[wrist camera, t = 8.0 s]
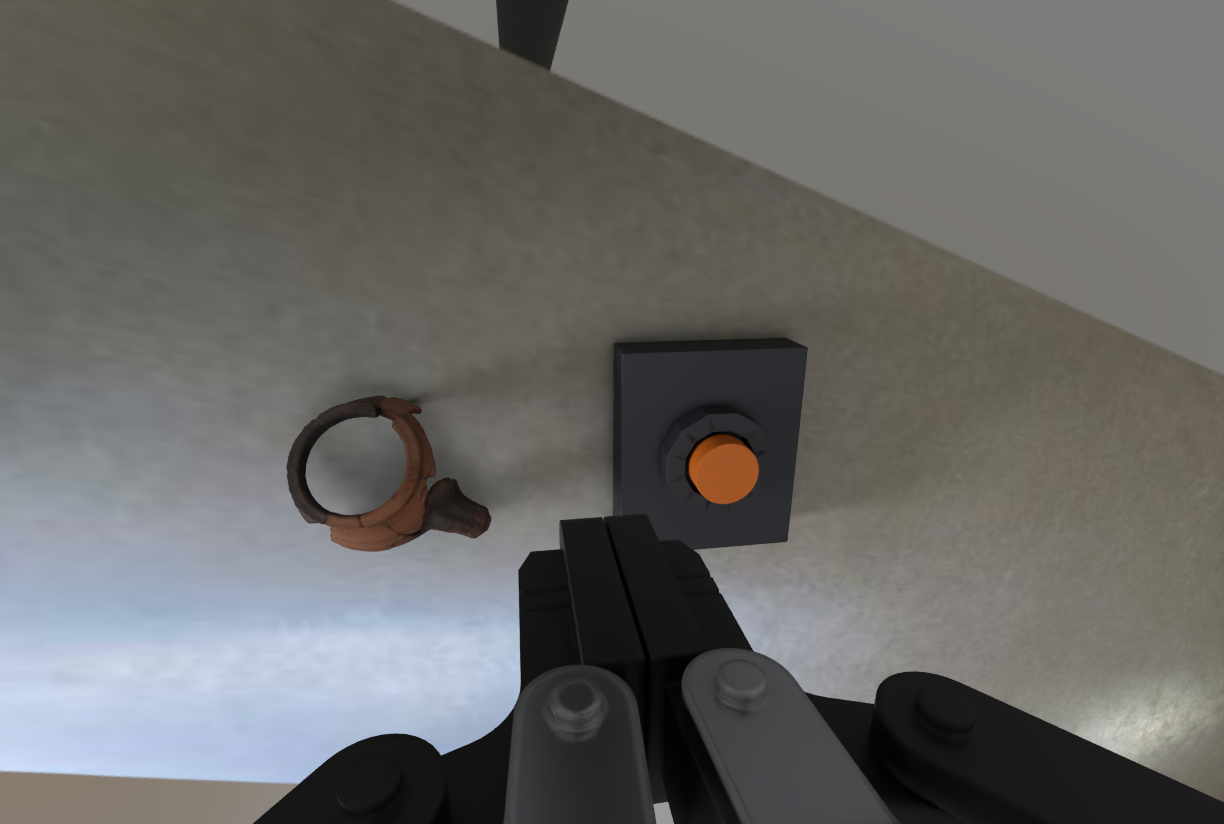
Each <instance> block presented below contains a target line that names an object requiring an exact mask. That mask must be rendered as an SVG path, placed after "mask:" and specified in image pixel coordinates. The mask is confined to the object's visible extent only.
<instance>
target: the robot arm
mask: <svg viewBox="0 0 1224 824" xmlns="http://www.w3.org/2000/svg"><path fill="white" fill-rule="evenodd" d="M559 529H560V549H559V550H546V551H534V552H530V554H529V555H528V557H527V558H526V560H525V561H524V563H523V564H522V566H521V567H520V569H519V570H518V571H519V619H520V668H521V687H520V693H519V697H518V700H517V702H516V704H515V706H514V708H513V710H512V711H511V712H510V714H509V715H508V717H507V718H506V719H505V720H504V721H503V722H502V723H501V724H500V725H499V726H498V727H496V728H495V729H494V730H493V731H491V732H490V733H488V734H487V735H485V736H484V737H482V738H481V739H478V740H476V741H474V742H472V743H470V744H468V745H465V746H463V747H461V748H458V749H456V750H453V751H451V752H449V753H446V754H444V755H440V753H439V752H438V751H437V750H436V749H435V748H434V746H433V745H431V744H430V743H428V742H427V741H426V740H423V739H421V738H419V737H416V736H412V735H408V734H383V735H379V736H374V737H370V738H367V739H364V740H361V741H358V742H356V743H354V744H352V745H350V746H348V747H346V748H344V749H343V750H341V751H339V752H338V753H336V754H335V755H333V756H332V757H331V758H329V759H328V760H327V761H325V762H324V763H323V764H322V765H321V766H320V767H318V768H317V769H316V770H315V771H314V772H313V773H311V774H310V775H309V776H308V777H307V778H306V779H304V780H303V781H302V782H301V783H300V784H299V785H297V786H296V787H295V788H294V789H293V790H292V791H290V792H289V793H288V794H287V795H286V796H285V797H283V798H282V799H281V800H280V801H279V802H278V803H276V804H275V805H274V806H273V807H272V808H271V809H269V810H268V811H267V812H266V813H265V814H264V815H262V816H261V817H260V818H259V819H258V820H257V821H255V822H254V823H253V824H656V818H655V813H654V807H653V804H656V803H663V802H668V803H669V806H670V810H671V814H672V817H673V821H674V824H1224V802H1222V801H1220V800H1217V799H1215V798H1213V797H1211V796H1209V795H1206V794H1204V793H1202V792H1200V791H1198V790H1195V789H1193V788H1191V787H1189V786H1187V785H1184V784H1182V783H1180V782H1178V781H1176V780H1173V779H1171V778H1169V777H1167V776H1165V775H1162V774H1160V773H1158V772H1156V771H1154V770H1151V769H1149V768H1147V767H1145V766H1143V765H1140V764H1138V763H1136V762H1134V761H1132V760H1129V759H1127V758H1125V757H1123V756H1121V755H1118V754H1116V753H1114V752H1112V751H1110V750H1107V749H1105V748H1103V747H1101V746H1099V745H1096V744H1094V743H1092V742H1090V741H1088V740H1085V739H1083V738H1081V737H1079V736H1077V735H1074V734H1072V733H1070V732H1068V731H1066V730H1063V729H1061V728H1059V727H1057V726H1055V725H1052V724H1050V723H1048V722H1046V721H1044V720H1041V719H1039V718H1037V717H1035V716H1033V715H1030V714H1028V713H1026V712H1024V711H1022V710H1019V709H1017V708H1015V707H1013V706H1011V705H1008V704H1006V703H1004V702H1002V701H1000V700H997V699H995V698H993V697H991V696H989V695H986V694H984V693H982V692H980V691H977V690H975V689H973V688H971V687H969V686H966V685H964V684H962V683H960V682H957V681H955V680H952V679H950V678H947V677H944V676H940V675H937V674H932V673H926V672H902V673H897V674H894V675H892V676H890V677H888V678H886V679H885V680H884V681H883V682H882V683H881V684H880V685H879V687H878V689H877V692H876V698H875V704H870V703H863V702H856V701H849V700H842V699H834V698H827V697H822V696H817V695H813V694H810V693H806V692H804V691H803V690H802V688H801V687H800V685H799V684H798V683H797V681H796V680H795V679H794V677H793V676H792V675H791V674H790V673H789V671H787V670H786V669H785V668H784V667H783V666H782V665H780V664H779V663H777V662H776V661H774V660H773V659H771V658H769V657H767V656H765V655H762V654H760V653H757V652H754V651H753V650H752V648H751V646H750V644H749V642H748V641H747V639H746V637H745V635H744V633H743V632H742V630H741V628H740V626H739V625H738V623H737V621H736V619H735V617H734V616H733V614H732V612H731V610H730V608H729V607H728V605H727V603H726V601H725V600H724V598H723V596H722V594H721V593H720V594H719V589H718V587H717V585H716V583H715V582H714V580H713V578H712V577H710V573H709V571H708V569H707V567H706V566H705V564H704V562H703V560H702V558H701V557H700V555H699V554H698V553H697V552H695V551H694V550H692V549H691V548H690V547H688V546H687V545H686V544H684V543H683V542H681V541H680V540H667V541H659V539H658V537H657V535H656V533H655V531H654V529H653V526H652V524H651V522H650V520H649V518H648V516H647V514H635V515H621V516H608V517H604V520H603V518H602V517H596V518H583V519H570V520H560V528H559Z"/></svg>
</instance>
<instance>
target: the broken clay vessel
mask: <svg viewBox="0 0 1224 824" xmlns="http://www.w3.org/2000/svg"><path fill="white" fill-rule="evenodd" d="M421 411H422V409H421V407H419V406H417V405H415V404H413V403H410V402H408V401H405V400H402V399H398V398H386V397H384V396H373V397H367V398H363V399H358V400H354V401H351V402H348V403H345V404H341V405H338V406H335V407H332V408H330V409H328V410H326V411H325V412H323V413H321V414H320V415H319V416H318V417H317V418H316V419H314V420H312V421H311V422H310V423H309V424H308V425H306V426H305V427H304V429H303V430H302V432H301V433H300V434H299V435H298V437H297V438H296V439H295V441H294V443H293V445H292V448H291V450H290V453H289V457H288V462H287V471H288V473H287V479H288V484H289V491H290V493H291V495H292V498H293V500H294V503H295V506H296V507H297V508H298V509H299V512H300V514H301V515H302V517H303V518H304V519H305V521H306V522H307V523H312V524H313V523H320V524H326V525H327V526H330V527H331V534H330V536H331V541H333V542H335V543H337V544H340V545H341V546H343V547H346V548H349V549H353V550H360V551H369V552H371V551H383V550H389V549H391V548H394V547H397V546H400V545H403V544H405V543H407V542H409V541H411V540H413V539H415V538H417V537H419V536H420V535H422V534H424V533H425V532H427V531H428V530H431V529H433V530H439V531H444V532H449V533H458V534H461V535H465V536H468V537H470V538H477V537H478V536H480V535H481V534H483V533H484V532H485V531H487V530H488V528H489V525H490V523H491V516H490V514H489V511H488V509H487V508H486V507H485V506H483V505H480V504H478V503H476V502H474V501H472V500H470V499H469V498H467V497H466V496H465V495H464V494H463V493H462V492H461V490H460V488H459V486H458V483H457V481H456V480H455V479H452V480H451V479H450V478H444V479H442V480H439V481H437V482H436V483H435V484H434V485H433V486H432V487H431V488H430V490H429V492H428V491H427V486H426V479H427V478H429V477H433V476H435V475H436V468H435V462H434V458H433V453H432V448H431V446H430V444H429V441H428V439H427V437H426V434H425V432H424V429H423V428H422V426H421V425H420V423H419V422H418V421H417V419H416V418H415V417H414V416H413V415H412V414H413V413H416V414H421ZM380 415H381V416H383V417H386V418H388V419H390V420H392V421H394V422H393V423H392V427H393V429H394V430H395V431H396V432H397V433H398V435H399V436H400V438H401V439H402V441H403V443H404V446H405V450H406V456H407V463H406V471H405V476H404V480H403V482H402V483H401V485H400V487H399V489H398V490H397V491H396V493H395V494H394V495H393V496H392V497H391V498H390V499H389V500H388V501H387V502H386V503H384V504H383V505H382V506H380V507H379V508H377V509H375V510H373V511H370V512H367V513H364V514H359V515H342V514H338V513H335V512H330V511H328V510H326V509H325V508H323V507H322V506H321V505H320V504H319V503H318V502H317V501H316V500H315V499H314V497H313V496H312V494H311V493H310V490H309V488H308V485H307V481H306V477H305V474H306V463H307V459H308V456H309V454H310V451H311V449H312V447H313V445H314V444H315V442H316V441H317V440H318V438H319V437H320V436H321V435H322V434H323V433H324V432H325V431H327V430H328V429H329V428H330V427H332V426H334V425H336V424H338V423H340V422H342V421H344V420H347V419H351V418H358V417H372V418H376V417H378V416H380Z"/></svg>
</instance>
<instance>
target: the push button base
mask: <svg viewBox="0 0 1224 824" xmlns="http://www.w3.org/2000/svg"><path fill="white" fill-rule="evenodd" d="M807 350H808V348H807V347H805V346H803V345H801V344H798V343H796V342H794V341H792V340H789V339H787V338H769V339H736V340H702V341H669V342H635V343H614V422H613V516H621V515H635V514H647V516H648V518H649V520H650V522H651V524H652V526H653V529H654V531H655V533H656V535H657V537H658V539H659V541H667V540H680V541H681V542H683V543H684V544H686V545H687V546H688V547H690V548H691V549H692V550H696V549H707V548H719V547H731V546H743V545H755V544H766V543H778V542H787V540H788V530H789V521H790V511H791V502H792V492H793V483H794V473H795V464H796V454H797V445H798V435H799V426H800V416H801V407H802V397H803V388H804V378H805V369H806V359H807ZM717 434H727V435H731V436H734V437H736V438H738V439H739V440H740V441H741V442H742V443H743V444H745V445H746V446H747V447H748V448H749V449H750V450H751V451H752V452H753V454H754V455H755V457H756V459H757V461H758V466H759V474H758V479H757V481H756V484H755V486H754V487H753V489H752V490H751V491H750V492H749V493H748V494H747V495H746V496H745V497H743V498H742V499H740V500H738V501H736V502H733V503H729V504H718V503H714V502H711V501H709V500H707V499H706V498H705V497H704V496H703V495H702V494H701V493H700V492H699V490H698V489H697V487H696V486H695V484H694V483H693V481H692V480H691V478H690V475H689V471H688V462H689V458H690V455H691V453H692V451H693V450H694V448H695V447H696V446H697V445H698V444H699V443H700V442H701V441H703V440H704V439H706V438H708V437H710V436H713V435H717Z"/></svg>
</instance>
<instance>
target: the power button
mask: <svg viewBox="0 0 1224 824" xmlns="http://www.w3.org/2000/svg"><path fill="white" fill-rule="evenodd" d="M688 471H689V475H690V478H691V480H692V481H693V483H694V484H695V486H696V487H697V489H698V490H699V492H700V493H701V494H702V495H703V496H704V497H705V498H706V499H707V500H709V501H711V502H714V503H718V504H729V503H733V502H736V501H738V500H740V499H742V498H743V497H745V496H746V495H747V494H748V493H749V492H750V491H751V490H752V489H753V487H754V486H755V484H756V481H757V479H758V474H759V466H758V461H757V459H756V457H755V455H754V454H753V452H752V451H751V450H750V449H749V448H748V447H747V446H746V445H745V444H743V443H742V442H741V441H740V440H739V439H738V438H736V437H734V436H731V435H727V434H717V435H713V436H710V437H708V438H706V439H704V440H703V441H701V442H700V443H699V444H698V445H697V446H696V447H695V448H694V450H693V451H692V453H691V455H690V458H689V462H688Z"/></svg>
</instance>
